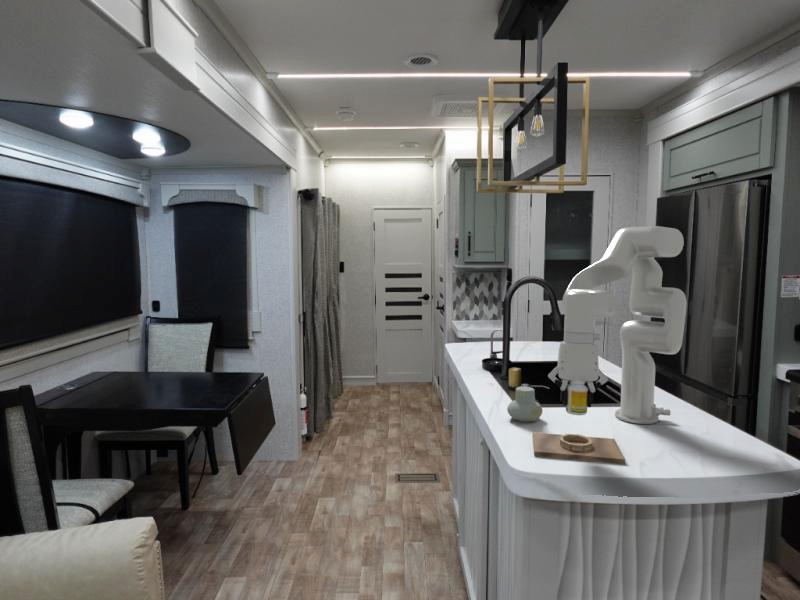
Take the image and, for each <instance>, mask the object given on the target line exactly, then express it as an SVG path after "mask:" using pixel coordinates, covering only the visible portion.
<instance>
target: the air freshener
mask: <svg viewBox="0 0 800 600" xmlns="http://www.w3.org/2000/svg"><path fill="white" fill-rule="evenodd" d="M535 396H536V393H535V389H534V388H533V387H530V386H517V387H516V388H515V399H514V400H512V401H511V402H510V403H509V404H508V405H507V407H506V408H507V409H506V410H507V413H508V415H509V416H510V417H511V418H512V419H514V420H515V421H519V422H525V423H532V421H533V422H535V421H537V420H538V419H539V418H541V416H542V414H543V408H542V406H541V404H540V403H538V401H537V402H536V400H535V399H536V397H535Z"/></svg>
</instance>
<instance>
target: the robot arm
mask: <svg viewBox="0 0 800 600" xmlns="http://www.w3.org/2000/svg"><path fill="white" fill-rule="evenodd" d="M684 242H685V241H684V236H683V234H682V232H681V231H680V230H679V229H677V228H675V227H673V228H672V227H665V226H659V225H652V226H651V225H649V226H629V227H628V226H627V227H623V228H621V229H619V230H618V231H617V232H616V233H615V234H614V235H613V238H612V239H611V241H610V242H609V245H608V247H606V250H605V251H604V253H603V254H602V257H601V258H600V260H598V261H596V262H594V263H593V264H591V265H589V266H588V267H586V268H584V269H583V270H581V271H579V273H577V274H576V275H575V276H574V277H573V278H572V280H571V281H570V283H569V284H568V286H567V288H566V290H565V291H564V294H563V295H562V296H563V297H562V307H563V310H564V320H563V321H564V322H563V324H564V325H563V341H560V343H559V346H558V347H559V348H558V356H557V366H555V367H554V368H553V369H552V370H551V371H550V372H549V373H548V374H547V377H548V379H549V380H551V381H552V382H553V383H554V384H555V385H556V386H557V387H558V388H559V389H560V402H562V404H563V406H565V407H566V405H567V385H568V384H569V382H570V381H574V380H581V381H585V382H586V384H587V388H588V400H587V408H591V406H592V404H594V393H595V392H596V391H597V390H599V389H600V388H601V386H602V385H604V384H606V383H607V382H608V381H609V379H608V377H607V376H606V375H605V373H603V372H602V370H601V369H600V367H599V354H598V346H597V343H596V341H597V340H598V341H599V340H601V334H598V333H596V332H595V328H596V327H595V325H596V324H595V323H596V322H595V321H596V320H595V319H596V318H599V319H604V318H605V319H607V318H610V317H612V316H614V314H615V313H616V312H617V310H618V307H619V299H618V298H617V295H616V294H615V293H614V292H612V291H610V290H605V289H595V288H597V287H600V286H603V285H608V284H611V283H614V282H617V281H620V280H623V279H624V278H626V277H627V276H628V275H629V274H630V272H631V270H632V278H631V285H630V286H631V287H630V292H629V293H630V295H629V305H628V307H629V310H630V312H631V313H632V314H633V315H636V316H638V317H639V316H640V317H648V318H658V319H664V322H662V321H652V320H641V319H634V320H633V319H631V320H628V321H625V322H624V323H623V324H622V325H621V327H620V329H619V339H620V345H621V355H622V356H621V358H622V362H621V381H620V383H621V387H620V408H619V409H617V410H615V412H614V415H615V417H616V418H617V419H619V420H621V421H624V422H628V423H633V424H637V425H638V424H639V425H651V424H652V425H653V424H656V423H658V422H659V416H660V415H661V416H662V415H663V416H671V413H672V412H671V409H669V408H667V409H666V408H664V407H657V406H656V405H655V385H656V383H655V382H656V364H655V361H654V358H653V357H652V355H651V354H650V353H657V354H663V355H676V354H677V353H679V351H680V350H681V348H682V345H683V339H684V332H685V325H686V324H685V323H686V315H687V305H688V304H687V298H686V295H685V293H684V291H683V290H681V289H680V288H676V287H667V286H666V287H663V286H662V283H663V282H662V281H663V275H664V273H663V270H662V266H660V264H659V263H658V261H657V260H656V259H655V258H673V257H674V258H675V257H677V256H678V255H680V254H681V253H682V251H683V249H684V248H683V247H684V245H685V244H684ZM556 376H558V377H556ZM558 378H559V379H558ZM560 379H561V381H560Z"/></svg>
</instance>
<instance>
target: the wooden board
mask: <svg viewBox="0 0 800 600" xmlns="http://www.w3.org/2000/svg"><path fill="white" fill-rule="evenodd" d="M532 444H533V445H532V446H533V454H534V457H543V458H554V459H556V458H557V459H566V460H578V461H590V462H599V463H610V464H611V463H612V464H620V465H621V464H623V465H624V464H626V458H625V456H624V454H623V452H622V451H621V449H620V446H619V445H618V443H617V441H616V440H615V438H611V437H610V438H608V437H597V436H595V437H594V436H585V435H583V434H576V433H565V434H558V433H557V434H556V433H545V432H544V433H542V432H532Z"/></svg>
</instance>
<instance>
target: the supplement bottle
mask: <svg viewBox="0 0 800 600" xmlns="http://www.w3.org/2000/svg"><path fill="white" fill-rule="evenodd" d="M586 384H587V382H585V381H581V380H574V381H569V383H567V386H566V390H567V405H566V406H565V412H566V413H567V414H570V415H573V416H574V415H575V416H585V415H586V414H587V412H588V406H587V400H588V388H589V387H588V385H586Z"/></svg>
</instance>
